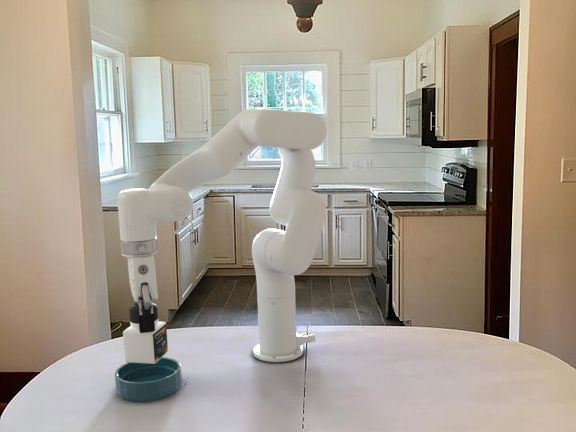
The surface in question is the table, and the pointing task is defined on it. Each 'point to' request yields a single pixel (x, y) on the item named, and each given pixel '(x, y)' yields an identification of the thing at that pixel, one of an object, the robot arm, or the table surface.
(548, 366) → the table surface
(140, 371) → the dish
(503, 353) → the table surface
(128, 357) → the medicine bottle
